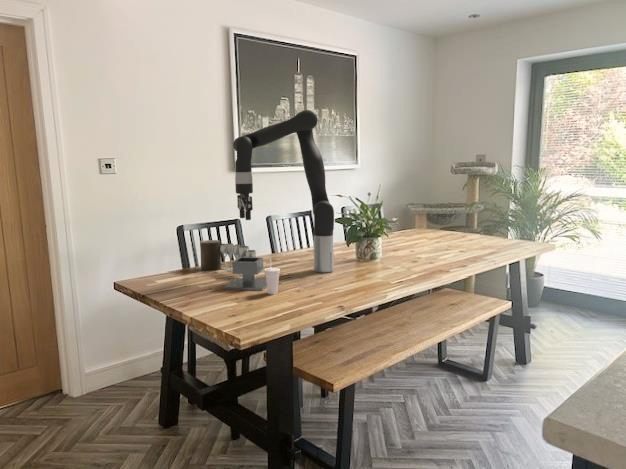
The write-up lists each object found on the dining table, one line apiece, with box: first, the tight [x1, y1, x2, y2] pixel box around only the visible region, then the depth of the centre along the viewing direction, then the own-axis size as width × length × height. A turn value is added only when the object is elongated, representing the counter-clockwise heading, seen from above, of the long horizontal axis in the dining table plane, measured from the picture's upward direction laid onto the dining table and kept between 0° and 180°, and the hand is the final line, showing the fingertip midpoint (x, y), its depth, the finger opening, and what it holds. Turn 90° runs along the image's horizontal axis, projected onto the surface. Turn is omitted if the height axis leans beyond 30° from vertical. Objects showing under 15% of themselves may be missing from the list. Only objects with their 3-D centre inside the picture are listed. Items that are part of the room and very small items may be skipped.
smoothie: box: [263, 258, 281, 295], centre depth 193 cm, size 6×6×14 cm
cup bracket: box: [223, 256, 267, 292], centre depth 206 cm, size 16×16×11 cm
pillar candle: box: [199, 239, 222, 272], centre depth 238 cm, size 10×10×15 cm
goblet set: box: [219, 242, 257, 278], centre depth 230 cm, size 28×6×13 cm, turn 42°
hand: (245, 219), depth 218 cm, fingers open, 8 cm apart
